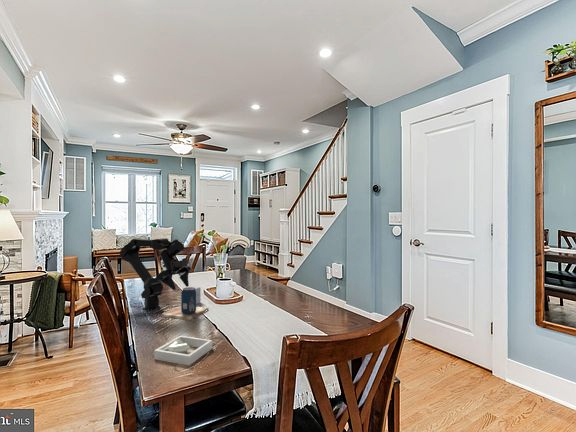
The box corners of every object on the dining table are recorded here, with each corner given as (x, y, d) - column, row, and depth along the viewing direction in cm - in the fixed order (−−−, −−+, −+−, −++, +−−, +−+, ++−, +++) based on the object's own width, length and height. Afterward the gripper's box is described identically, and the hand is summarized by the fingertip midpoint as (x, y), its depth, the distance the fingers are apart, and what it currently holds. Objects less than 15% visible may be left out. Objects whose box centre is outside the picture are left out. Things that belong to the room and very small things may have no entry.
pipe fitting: (191, 351, 116) (174, 348, 117) (192, 341, 116) (175, 338, 117) (179, 361, 108) (161, 358, 109) (180, 350, 108) (162, 347, 109)
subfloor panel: (161, 316, 154) (161, 313, 154) (182, 307, 169) (182, 304, 169) (189, 319, 149) (189, 317, 149) (208, 310, 164) (208, 307, 164)
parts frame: (154, 359, 109) (154, 350, 108) (180, 343, 122) (180, 335, 122) (189, 365, 104) (189, 356, 104) (212, 348, 117) (212, 340, 117)
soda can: (186, 310, 159) (186, 286, 159) (198, 311, 157) (198, 287, 157) (178, 314, 152) (178, 289, 152) (191, 316, 150) (191, 290, 150)
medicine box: (200, 302, 179) (200, 287, 178) (196, 304, 174) (196, 288, 174) (188, 301, 181) (188, 286, 181) (183, 303, 176) (184, 287, 176)
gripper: (165, 254, 150) (179, 283, 147) (192, 251, 167) (204, 277, 164) (150, 265, 154) (163, 294, 150) (178, 261, 171) (189, 287, 167)
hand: (181, 288), depth 158 cm, fingers open, 9 cm apart
